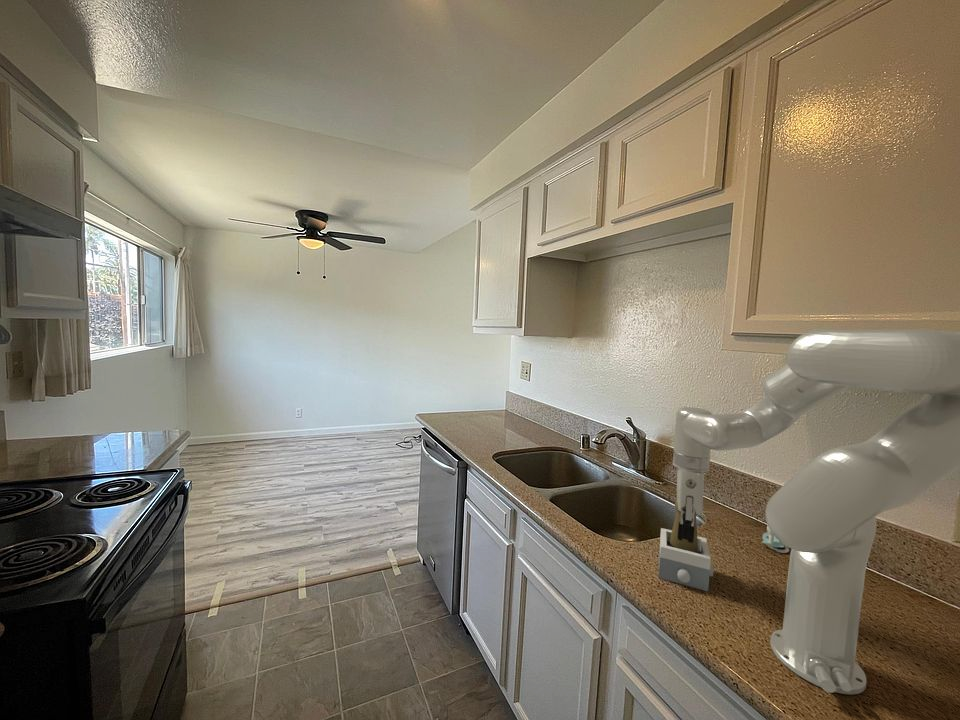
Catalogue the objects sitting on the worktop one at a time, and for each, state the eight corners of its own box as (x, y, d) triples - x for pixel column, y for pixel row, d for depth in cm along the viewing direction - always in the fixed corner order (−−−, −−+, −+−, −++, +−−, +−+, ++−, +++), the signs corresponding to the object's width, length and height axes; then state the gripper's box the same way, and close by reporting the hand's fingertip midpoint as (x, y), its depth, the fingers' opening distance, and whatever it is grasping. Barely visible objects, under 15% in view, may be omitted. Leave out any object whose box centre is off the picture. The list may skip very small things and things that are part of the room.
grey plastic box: (715, 596, 84) (717, 563, 83) (658, 580, 89) (660, 549, 88) (709, 569, 94) (711, 539, 94) (658, 556, 99) (661, 528, 98)
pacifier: (788, 546, 107) (761, 538, 111) (791, 524, 107) (764, 517, 110) (789, 558, 101) (761, 548, 105) (792, 535, 101) (764, 526, 104)
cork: (696, 554, 88) (700, 507, 87) (667, 545, 91) (670, 500, 90) (700, 544, 92) (703, 499, 92) (672, 535, 96) (675, 492, 95)
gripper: (713, 475, 81) (706, 558, 82) (705, 454, 96) (699, 525, 97) (673, 468, 84) (667, 549, 86) (672, 449, 99) (666, 518, 101)
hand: (684, 535), depth 92 cm, fingers closed on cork, 3 cm apart
